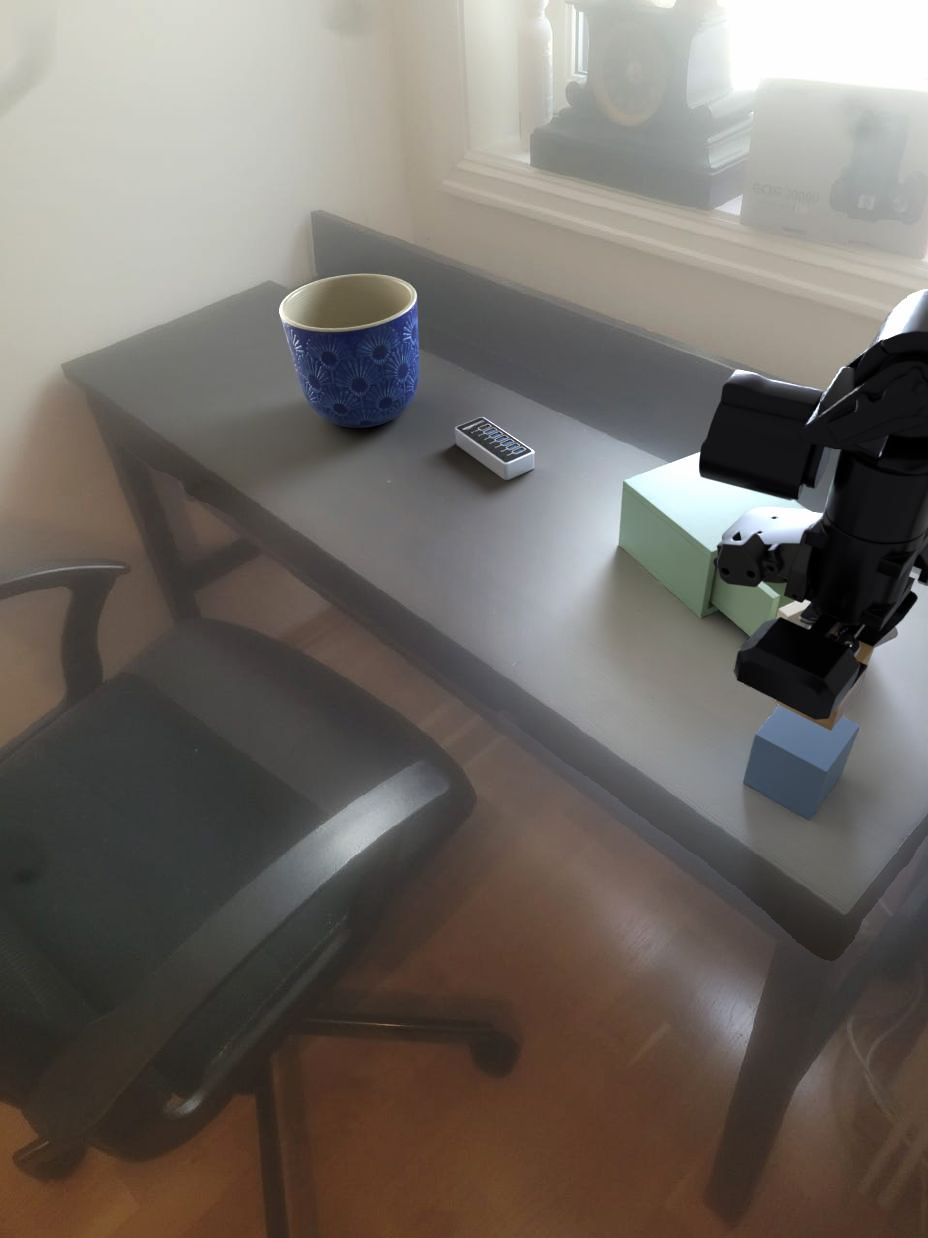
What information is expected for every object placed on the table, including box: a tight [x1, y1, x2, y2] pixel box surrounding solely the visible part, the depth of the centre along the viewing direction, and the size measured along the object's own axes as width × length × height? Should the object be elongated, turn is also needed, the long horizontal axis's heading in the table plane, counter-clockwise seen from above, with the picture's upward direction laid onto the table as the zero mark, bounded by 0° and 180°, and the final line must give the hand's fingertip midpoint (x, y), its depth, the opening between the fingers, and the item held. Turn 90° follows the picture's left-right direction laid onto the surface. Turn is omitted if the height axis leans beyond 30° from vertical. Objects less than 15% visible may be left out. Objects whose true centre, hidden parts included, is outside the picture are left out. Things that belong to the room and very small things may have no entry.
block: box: [774, 631, 875, 731], centre depth 61 cm, size 4×4×5 cm
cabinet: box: [618, 451, 809, 619], centre depth 86 cm, size 14×12×8 cm
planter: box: [278, 273, 420, 429], centre depth 111 cm, size 17×17×15 cm
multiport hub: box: [454, 416, 535, 481], centre depth 105 cm, size 4×11×2 cm, turn 34°
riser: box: [742, 704, 861, 821], centre depth 67 cm, size 6×6×6 cm
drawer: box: [709, 567, 899, 649], centre depth 78 cm, size 17×10×6 cm, turn 28°
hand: (818, 691), depth 62 cm, fingers closed on block, 4 cm apart
